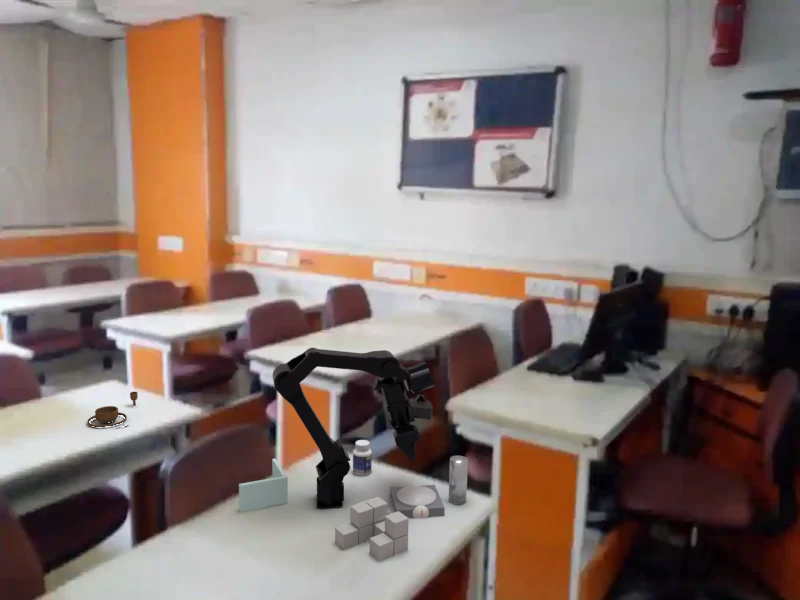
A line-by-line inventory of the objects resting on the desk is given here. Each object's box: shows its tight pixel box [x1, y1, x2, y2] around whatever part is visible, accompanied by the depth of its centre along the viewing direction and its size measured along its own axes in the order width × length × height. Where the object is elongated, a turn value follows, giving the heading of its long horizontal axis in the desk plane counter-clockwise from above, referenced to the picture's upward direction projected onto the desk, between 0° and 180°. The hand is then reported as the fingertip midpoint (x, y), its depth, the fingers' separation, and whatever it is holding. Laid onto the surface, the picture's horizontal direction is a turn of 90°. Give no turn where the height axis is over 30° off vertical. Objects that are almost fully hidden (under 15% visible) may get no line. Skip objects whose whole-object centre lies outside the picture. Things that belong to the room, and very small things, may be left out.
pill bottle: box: [352, 439, 373, 477], centre depth 182 cm, size 5×5×9 cm
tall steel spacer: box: [447, 455, 469, 506], centre depth 167 cm, size 5×5×12 cm
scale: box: [389, 484, 446, 519], centre depth 165 cm, size 12×12×4 cm
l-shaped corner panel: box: [238, 458, 289, 513], centre depth 167 cm, size 12×12×8 cm
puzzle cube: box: [334, 496, 410, 562], centre depth 146 cm, size 12×12×8 cm
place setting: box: [87, 391, 139, 427], centre depth 218 cm, size 18×20×6 cm
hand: (410, 452), depth 169 cm, fingers open, 9 cm apart
